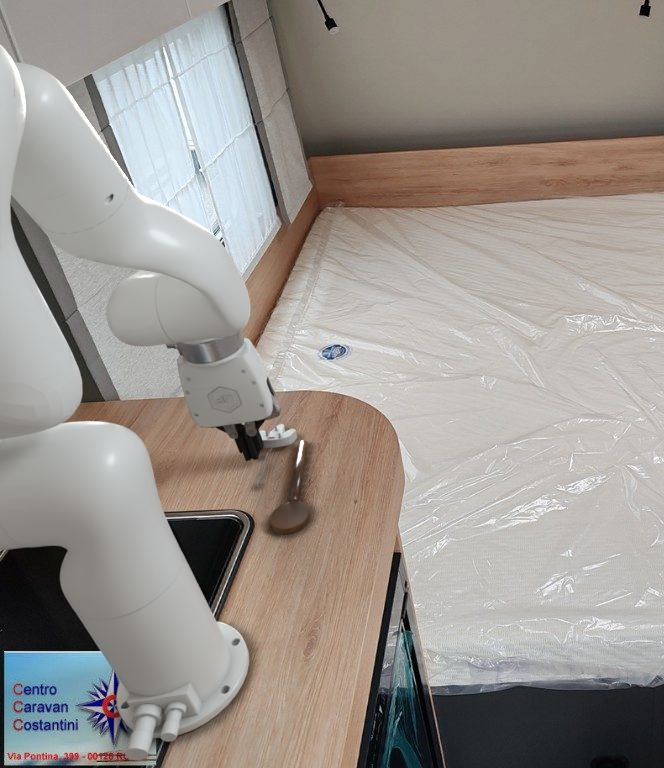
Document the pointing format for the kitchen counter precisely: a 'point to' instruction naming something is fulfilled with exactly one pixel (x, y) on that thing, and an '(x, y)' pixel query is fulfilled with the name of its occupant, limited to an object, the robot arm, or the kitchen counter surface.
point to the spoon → (293, 499)
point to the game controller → (277, 438)
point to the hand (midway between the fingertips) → (253, 453)
